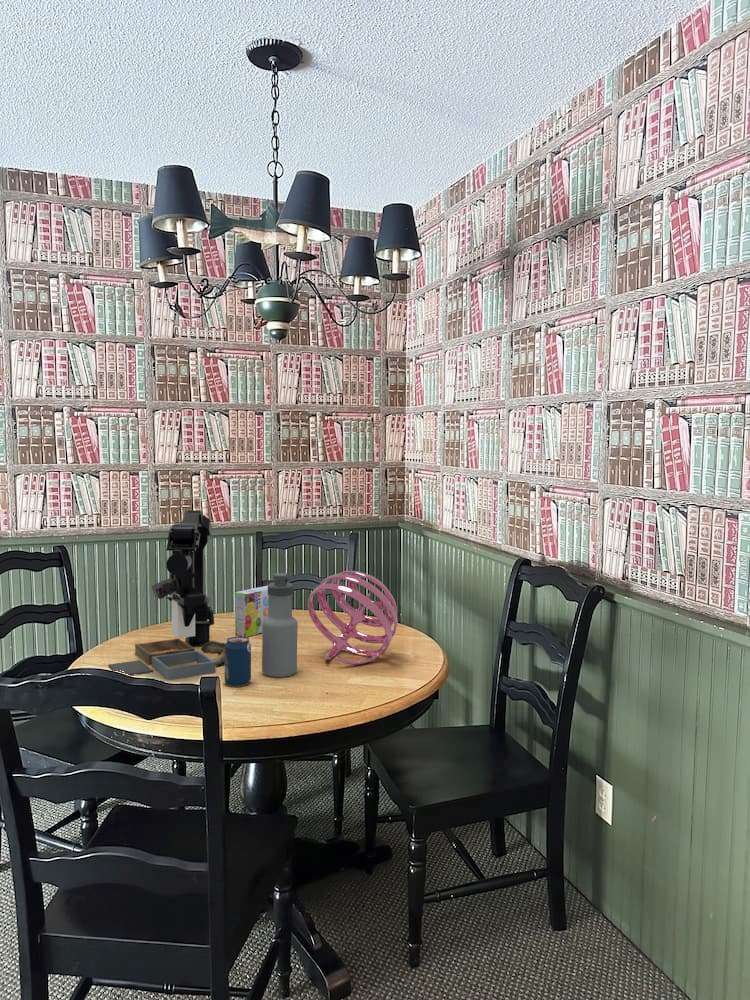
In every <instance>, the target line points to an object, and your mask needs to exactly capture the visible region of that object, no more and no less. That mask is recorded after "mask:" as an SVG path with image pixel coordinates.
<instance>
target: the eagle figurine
mask: <svg viewBox="0 0 750 1000" xmlns="http://www.w3.org/2000/svg"><path fill="white" fill-rule="evenodd" d="M226 643H227V642H219V641H218V642H217V641H214V640H210V642H207V643H205V644H204V645H201V649H200V650H201V651H202V653H203V654H212V655H213V654H216V655H217V656H216V657H213V659H212V660H214V661H215V662H216V667H217V666H219V665H221V664H222V663H224V662H225V644H226Z"/></svg>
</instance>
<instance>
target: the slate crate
mask: <svg viewBox="0 0 750 1000" xmlns="http://www.w3.org/2000/svg"><path fill="white" fill-rule="evenodd" d="M195 661H197V662H195ZM182 663H183V664H186V665H181V664H182ZM188 663H193V664H188ZM175 665H179V666H175ZM170 666H174V667H170ZM152 667H153V668H154V669H153V670H155V671H156V672H157V673H158V672H159V673H158V674H160V675H161V676H162V677H163V678H165V680H168V681H169V680H176V679H182V678H183V679H184V678H188V677H189V678H191V677H195V676H201V674H202V675H207V674H208V675H209V674H214V673H216V671H217V666H216V662H215V661H214V660H213V659H212V658H211V657H209V656H207V655H206V654H205V653H203V652H201V651H199V649H198V650H195V651H190V652H183V653H176V654H169V655H162V656H155V657H152V665H151V668H152ZM213 672H214V673H213Z"/></svg>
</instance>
